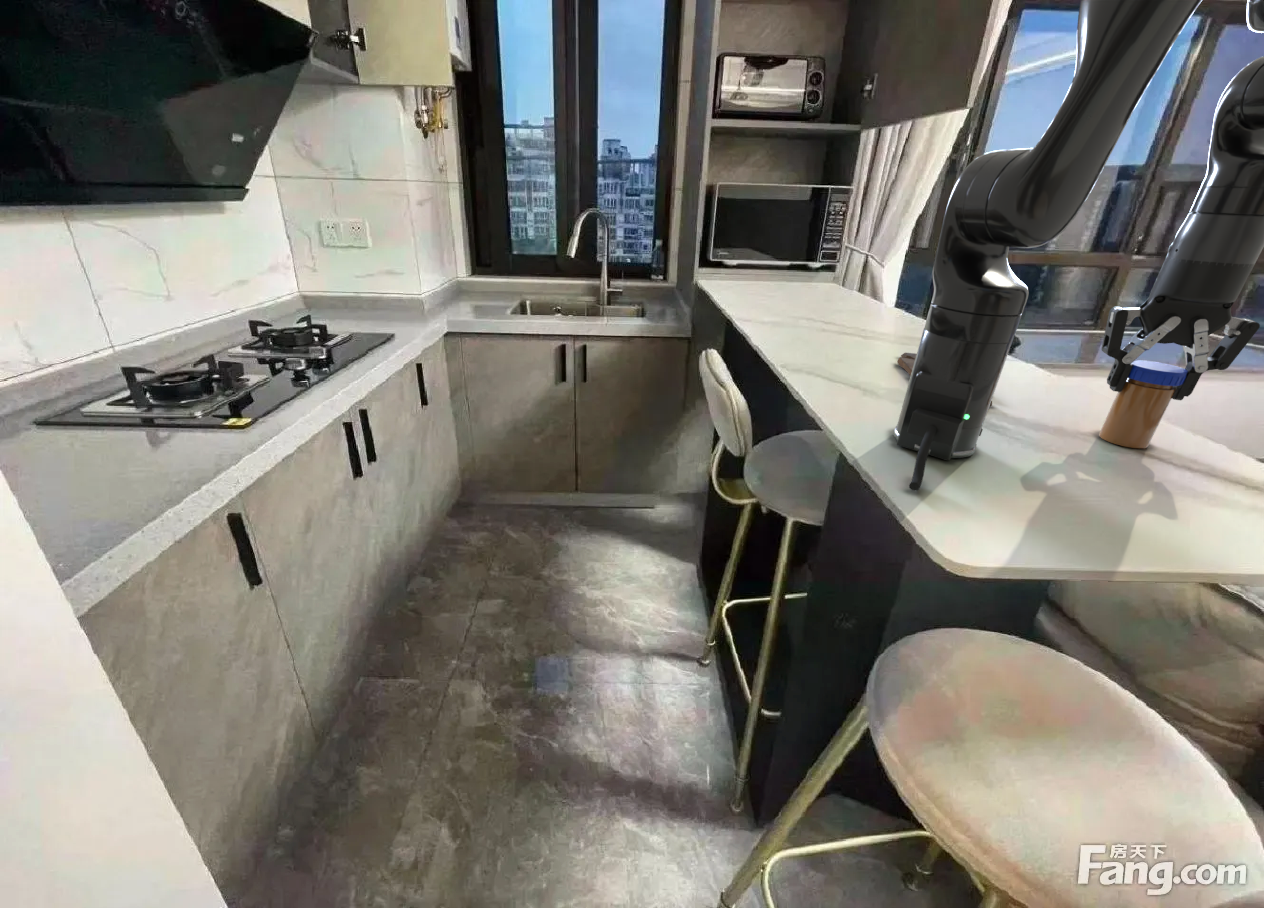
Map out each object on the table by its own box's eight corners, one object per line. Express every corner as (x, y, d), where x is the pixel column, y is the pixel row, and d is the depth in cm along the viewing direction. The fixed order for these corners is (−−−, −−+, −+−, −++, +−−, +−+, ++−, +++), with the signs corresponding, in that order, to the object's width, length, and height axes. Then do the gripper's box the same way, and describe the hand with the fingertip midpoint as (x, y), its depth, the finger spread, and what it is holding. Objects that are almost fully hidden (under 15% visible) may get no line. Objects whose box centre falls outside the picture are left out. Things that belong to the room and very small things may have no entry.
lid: (1149, 385, 67) (1155, 372, 66) (1110, 371, 72) (1116, 359, 71) (1195, 387, 67) (1202, 373, 66) (1153, 373, 72) (1159, 360, 71)
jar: (1147, 452, 70) (1181, 382, 66) (1096, 439, 73) (1126, 372, 69) (1148, 441, 73) (1181, 374, 69) (1100, 429, 76) (1129, 365, 72)
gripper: (1146, 255, 62) (1086, 393, 70) (1314, 265, 57) (1231, 413, 65) (1123, 249, 68) (1070, 377, 76) (1273, 259, 63) (1201, 394, 71)
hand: (1144, 393), depth 70 cm, fingers closed on lid, 5 cm apart
